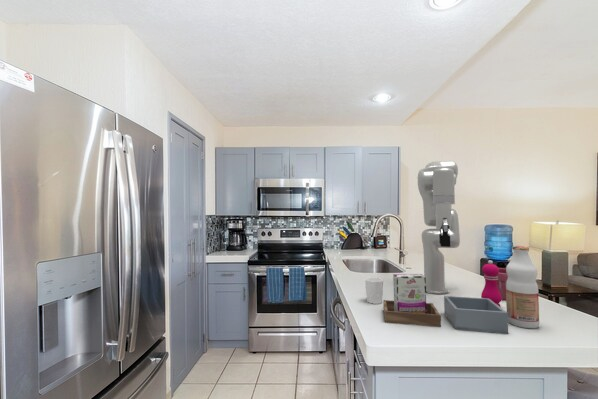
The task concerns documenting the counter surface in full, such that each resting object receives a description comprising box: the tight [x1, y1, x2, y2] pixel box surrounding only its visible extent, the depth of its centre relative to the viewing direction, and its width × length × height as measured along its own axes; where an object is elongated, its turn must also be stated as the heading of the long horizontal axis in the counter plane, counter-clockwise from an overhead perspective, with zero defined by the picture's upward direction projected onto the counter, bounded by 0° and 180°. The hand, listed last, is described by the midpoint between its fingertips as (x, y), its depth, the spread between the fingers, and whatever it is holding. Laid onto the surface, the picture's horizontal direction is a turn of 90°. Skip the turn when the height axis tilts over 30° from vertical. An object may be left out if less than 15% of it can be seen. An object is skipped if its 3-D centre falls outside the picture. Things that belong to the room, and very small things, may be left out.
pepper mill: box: [480, 259, 503, 307], centre depth 124 cm, size 7×7×20 cm
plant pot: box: [497, 267, 508, 301], centre depth 138 cm, size 14×14×13 cm
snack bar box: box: [392, 273, 427, 314], centre depth 113 cm, size 11×5×16 cm, turn 90°
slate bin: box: [443, 295, 509, 335], centre depth 108 cm, size 16×16×7 cm
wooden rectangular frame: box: [382, 299, 442, 328], centre depth 113 cm, size 14×19×4 cm
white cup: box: [364, 277, 384, 305], centre depth 133 cm, size 8×8×10 cm
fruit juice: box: [505, 245, 540, 329], centre depth 107 cm, size 9×9×28 cm
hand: (444, 245), depth 112 cm, fingers open, 9 cm apart
